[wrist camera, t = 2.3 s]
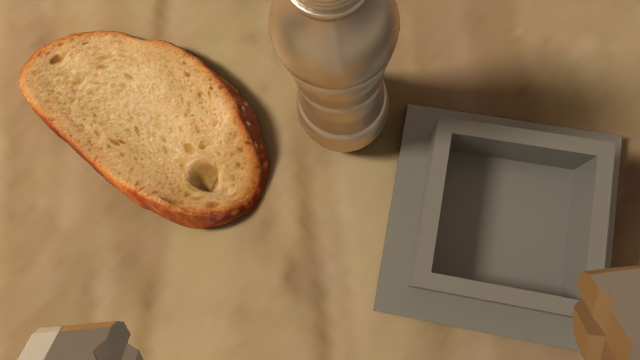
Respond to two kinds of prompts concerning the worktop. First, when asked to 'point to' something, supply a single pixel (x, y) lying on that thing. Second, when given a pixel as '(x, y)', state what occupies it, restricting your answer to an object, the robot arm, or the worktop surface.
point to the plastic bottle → (337, 65)
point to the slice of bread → (152, 124)
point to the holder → (497, 223)
